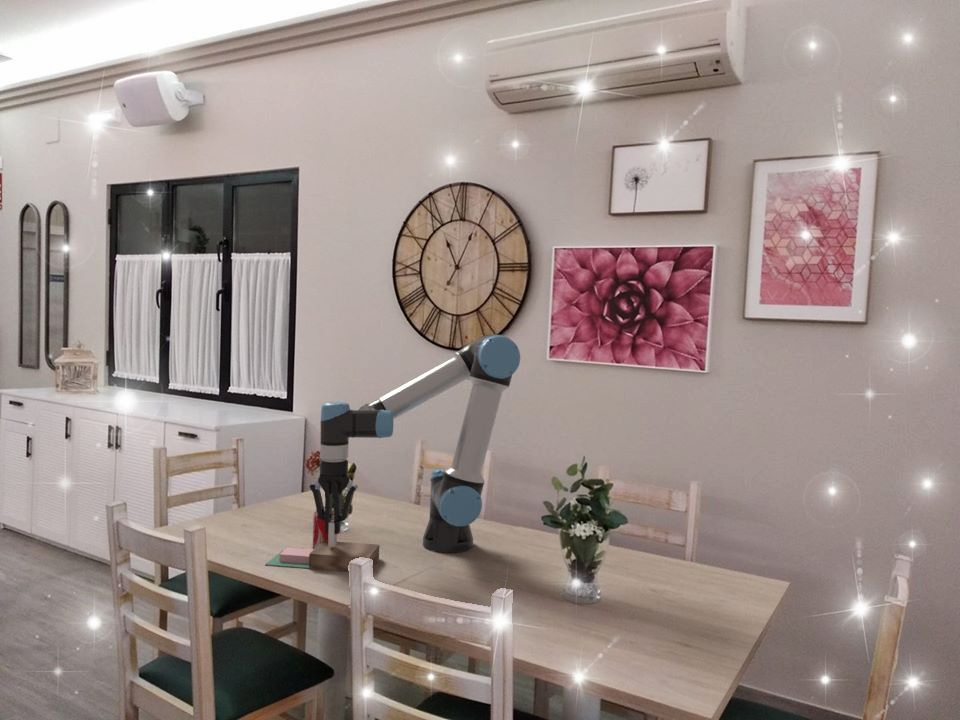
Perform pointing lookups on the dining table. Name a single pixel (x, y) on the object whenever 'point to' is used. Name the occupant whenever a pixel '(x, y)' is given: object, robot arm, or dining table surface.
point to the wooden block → (341, 555)
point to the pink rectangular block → (295, 555)
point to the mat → (285, 563)
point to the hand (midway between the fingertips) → (332, 545)
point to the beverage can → (319, 529)
